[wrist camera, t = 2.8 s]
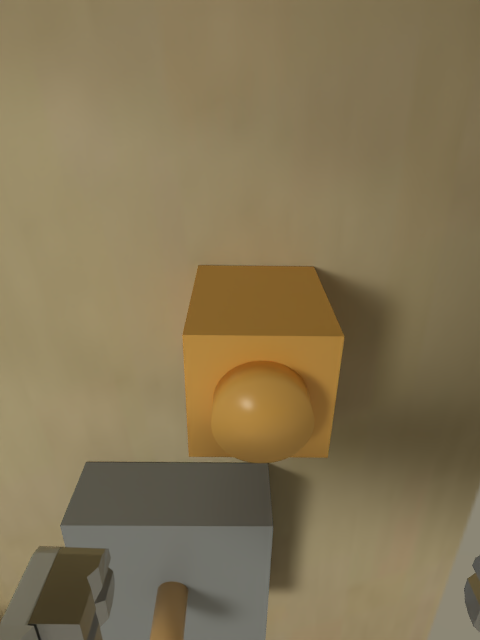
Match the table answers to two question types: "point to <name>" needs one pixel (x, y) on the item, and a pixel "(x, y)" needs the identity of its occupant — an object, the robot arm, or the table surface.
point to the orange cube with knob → (260, 363)
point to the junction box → (179, 546)
